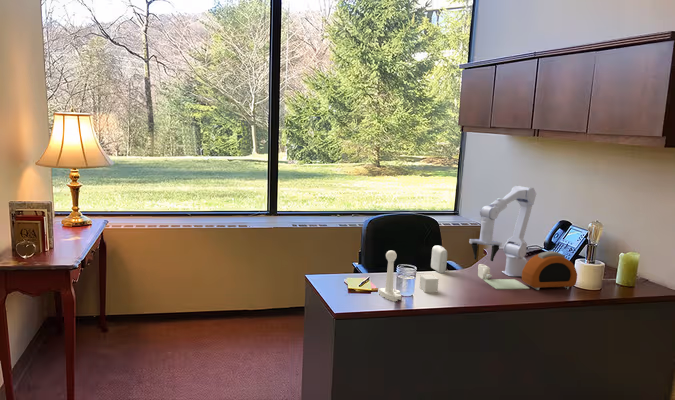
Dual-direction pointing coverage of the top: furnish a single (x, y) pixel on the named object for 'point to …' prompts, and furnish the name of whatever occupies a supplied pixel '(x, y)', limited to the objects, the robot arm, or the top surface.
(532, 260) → the orange toaster
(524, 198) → the robot arm
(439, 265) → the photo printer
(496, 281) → the rubber mat
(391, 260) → the joystick
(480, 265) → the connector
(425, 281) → the white cube
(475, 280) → the top surface
